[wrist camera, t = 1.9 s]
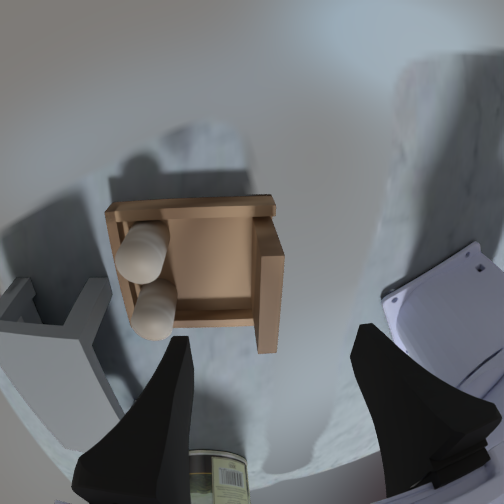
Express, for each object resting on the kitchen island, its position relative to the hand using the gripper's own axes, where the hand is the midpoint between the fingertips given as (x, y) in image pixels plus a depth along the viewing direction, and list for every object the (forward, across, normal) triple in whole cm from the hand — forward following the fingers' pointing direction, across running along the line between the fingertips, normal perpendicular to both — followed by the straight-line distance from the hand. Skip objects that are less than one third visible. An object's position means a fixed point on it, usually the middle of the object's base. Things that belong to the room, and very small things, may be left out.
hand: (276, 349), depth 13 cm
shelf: (+7, +14, +8) cm, 18 cm away
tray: (+8, +4, 0) cm, 9 cm away
